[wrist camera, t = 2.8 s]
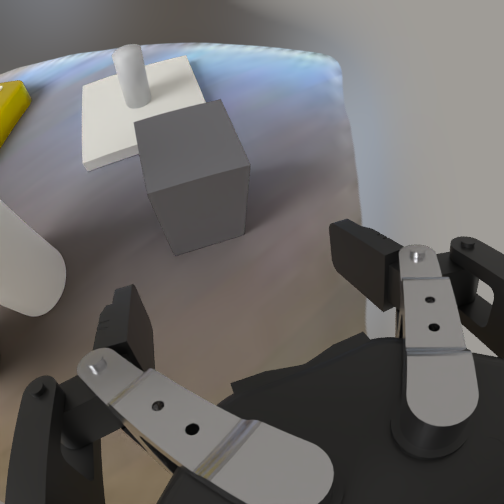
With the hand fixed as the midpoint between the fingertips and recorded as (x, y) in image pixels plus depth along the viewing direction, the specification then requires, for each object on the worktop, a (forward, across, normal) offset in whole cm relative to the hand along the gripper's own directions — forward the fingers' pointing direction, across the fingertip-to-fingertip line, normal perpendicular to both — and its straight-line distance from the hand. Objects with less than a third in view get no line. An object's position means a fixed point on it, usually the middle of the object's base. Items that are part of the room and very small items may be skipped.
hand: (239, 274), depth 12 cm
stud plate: (+28, +3, -9) cm, 30 cm away
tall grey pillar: (+17, 0, +2) cm, 17 cm away
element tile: (+35, +29, -15) cm, 48 cm away
